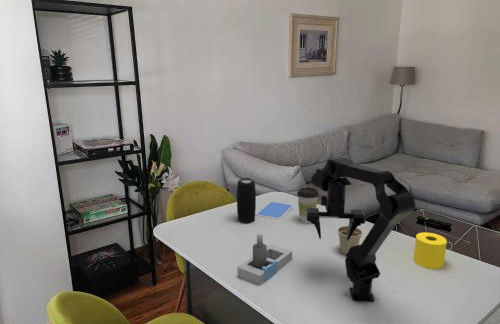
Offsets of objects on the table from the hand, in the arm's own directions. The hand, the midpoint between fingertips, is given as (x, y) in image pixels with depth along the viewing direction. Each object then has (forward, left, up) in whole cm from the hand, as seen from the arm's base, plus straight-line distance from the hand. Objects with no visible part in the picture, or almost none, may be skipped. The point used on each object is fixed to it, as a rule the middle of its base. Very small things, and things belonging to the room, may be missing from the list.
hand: (333, 239), depth 128 cm
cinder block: (+1, +23, -13) cm, 26 cm away
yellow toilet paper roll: (+12, -36, -13) cm, 40 cm away
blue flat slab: (+56, +22, -14) cm, 62 cm away
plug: (-2, +25, -13) cm, 28 cm away
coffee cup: (+45, +7, -13) cm, 47 cm away
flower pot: (+17, -8, -13) cm, 23 cm away
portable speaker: (+43, +35, -13) cm, 57 cm away
